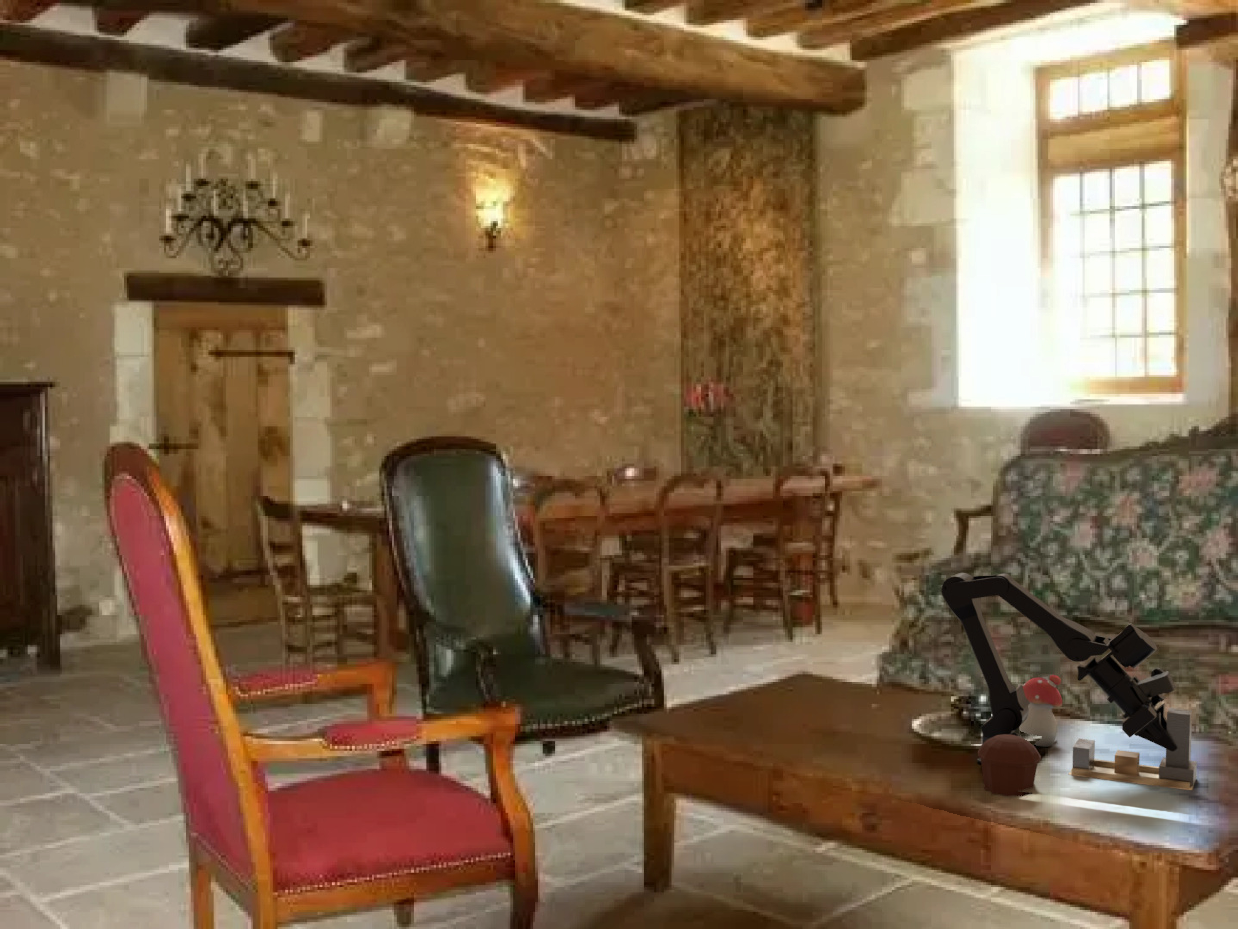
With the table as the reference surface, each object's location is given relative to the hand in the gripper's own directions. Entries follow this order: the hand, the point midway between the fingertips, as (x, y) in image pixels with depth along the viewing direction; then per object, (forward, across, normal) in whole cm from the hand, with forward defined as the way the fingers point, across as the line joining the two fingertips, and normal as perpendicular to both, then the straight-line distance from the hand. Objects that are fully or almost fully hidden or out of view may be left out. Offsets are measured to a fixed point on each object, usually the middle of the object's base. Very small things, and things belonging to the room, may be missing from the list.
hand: (1176, 747), depth 263 cm
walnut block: (-2, 0, +11) cm, 11 cm away
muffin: (-14, -16, +25) cm, 33 cm away
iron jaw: (-7, 0, +16) cm, 18 cm away
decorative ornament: (-15, +20, +26) cm, 36 cm away
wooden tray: (0, 0, +11) cm, 11 cm away
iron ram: (+5, 0, +4) cm, 6 cm away
